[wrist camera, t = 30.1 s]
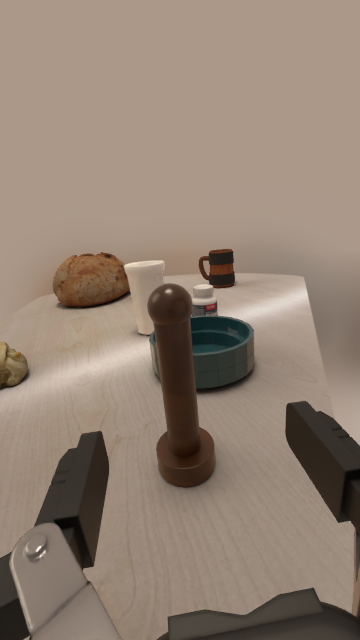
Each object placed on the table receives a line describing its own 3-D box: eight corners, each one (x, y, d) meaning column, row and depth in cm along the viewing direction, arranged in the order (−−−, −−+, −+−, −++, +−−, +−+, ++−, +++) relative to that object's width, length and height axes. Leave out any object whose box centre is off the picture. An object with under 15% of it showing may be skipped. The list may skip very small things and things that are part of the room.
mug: (202, 283, 100) (200, 250, 97) (236, 282, 97) (235, 248, 93) (197, 288, 93) (195, 253, 89) (233, 287, 89) (232, 251, 85)
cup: (141, 341, 54) (130, 268, 49) (129, 329, 61) (118, 264, 56) (178, 331, 57) (171, 261, 52) (163, 321, 64) (155, 259, 59)
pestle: (200, 434, 28) (187, 274, 23) (225, 473, 24) (216, 284, 18) (152, 451, 27) (126, 284, 22) (169, 496, 22) (140, 297, 17)
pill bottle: (209, 334, 54) (206, 290, 51) (187, 330, 57) (184, 288, 54) (222, 326, 57) (221, 284, 55) (202, 322, 61) (199, 283, 58)
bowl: (222, 338, 52) (221, 310, 50) (276, 374, 38) (277, 338, 36) (144, 356, 47) (139, 327, 45) (172, 406, 33) (167, 366, 32)
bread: (105, 309, 78) (95, 256, 74) (40, 309, 85) (27, 260, 80) (143, 288, 102) (137, 246, 97) (89, 289, 109) (81, 251, 104)
